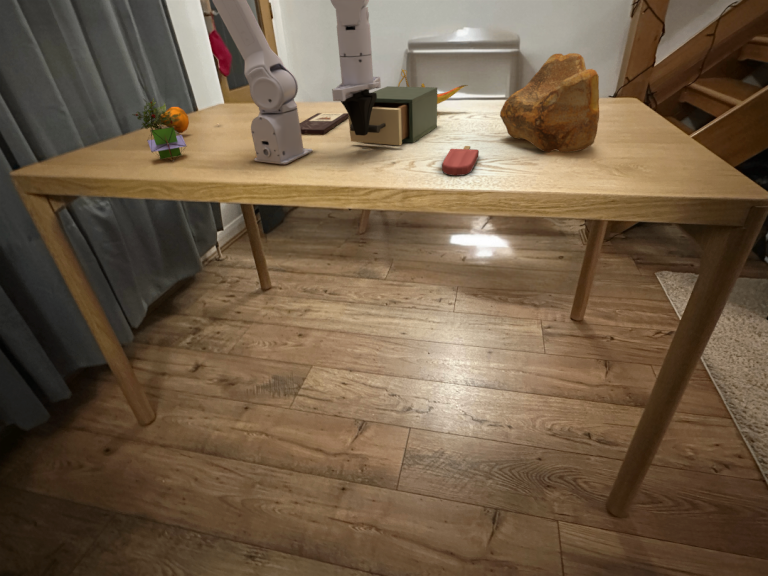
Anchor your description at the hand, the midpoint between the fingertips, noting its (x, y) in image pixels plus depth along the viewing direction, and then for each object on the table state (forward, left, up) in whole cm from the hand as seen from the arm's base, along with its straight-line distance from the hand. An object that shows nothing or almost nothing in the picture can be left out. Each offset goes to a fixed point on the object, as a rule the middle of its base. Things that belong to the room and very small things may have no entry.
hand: (361, 134), depth 83 cm
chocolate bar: (+20, +23, -4) cm, 31 cm away
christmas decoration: (+12, +51, -3) cm, 52 cm away
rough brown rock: (+19, -31, -4) cm, 36 cm away
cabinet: (+18, 0, -4) cm, 18 cm away
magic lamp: (+39, 0, -4) cm, 39 cm away
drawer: (+10, 0, -3) cm, 10 cm away
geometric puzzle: (-14, +38, -4) cm, 41 cm away
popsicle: (+1, -20, -4) cm, 20 cm away
